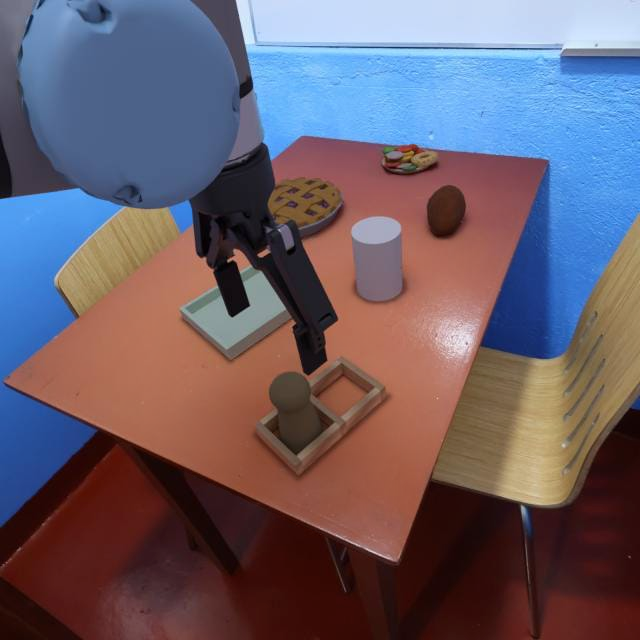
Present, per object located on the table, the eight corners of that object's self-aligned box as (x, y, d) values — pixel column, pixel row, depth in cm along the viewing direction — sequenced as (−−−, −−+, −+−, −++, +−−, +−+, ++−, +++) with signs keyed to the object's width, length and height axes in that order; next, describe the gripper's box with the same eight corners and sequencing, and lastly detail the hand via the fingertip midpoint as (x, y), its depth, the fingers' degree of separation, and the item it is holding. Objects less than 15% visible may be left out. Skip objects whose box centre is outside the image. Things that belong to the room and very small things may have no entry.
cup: (411, 288, 83) (411, 230, 75) (373, 307, 81) (369, 250, 73) (384, 267, 89) (381, 211, 81) (348, 284, 86) (341, 228, 78)
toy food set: (443, 169, 114) (444, 156, 111) (391, 181, 113) (390, 169, 110) (422, 148, 123) (422, 136, 121) (374, 159, 122) (373, 147, 120)
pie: (302, 253, 96) (298, 232, 92) (229, 228, 107) (223, 209, 103) (362, 203, 107) (360, 183, 104) (290, 185, 118) (286, 166, 115)
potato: (420, 238, 94) (420, 203, 88) (431, 208, 101) (432, 174, 96) (459, 242, 91) (462, 205, 86) (467, 211, 99) (470, 175, 93)
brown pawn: (332, 426, 64) (321, 374, 57) (307, 461, 61) (292, 410, 54) (297, 409, 67) (283, 357, 60) (271, 441, 64) (252, 390, 56)
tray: (230, 360, 76) (226, 349, 74) (183, 318, 86) (178, 308, 84) (319, 298, 85) (317, 287, 83) (267, 266, 94) (264, 256, 92)
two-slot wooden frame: (298, 476, 60) (295, 466, 58) (257, 435, 65) (253, 425, 63) (386, 397, 67) (385, 386, 65) (343, 366, 72) (341, 355, 70)
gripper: (366, 169, 32) (382, 372, 46) (183, 109, 47) (237, 277, 61) (282, 219, 29) (326, 420, 43) (114, 137, 44) (189, 307, 58)
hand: (274, 336), depth 52 cm, fingers open, 13 cm apart
